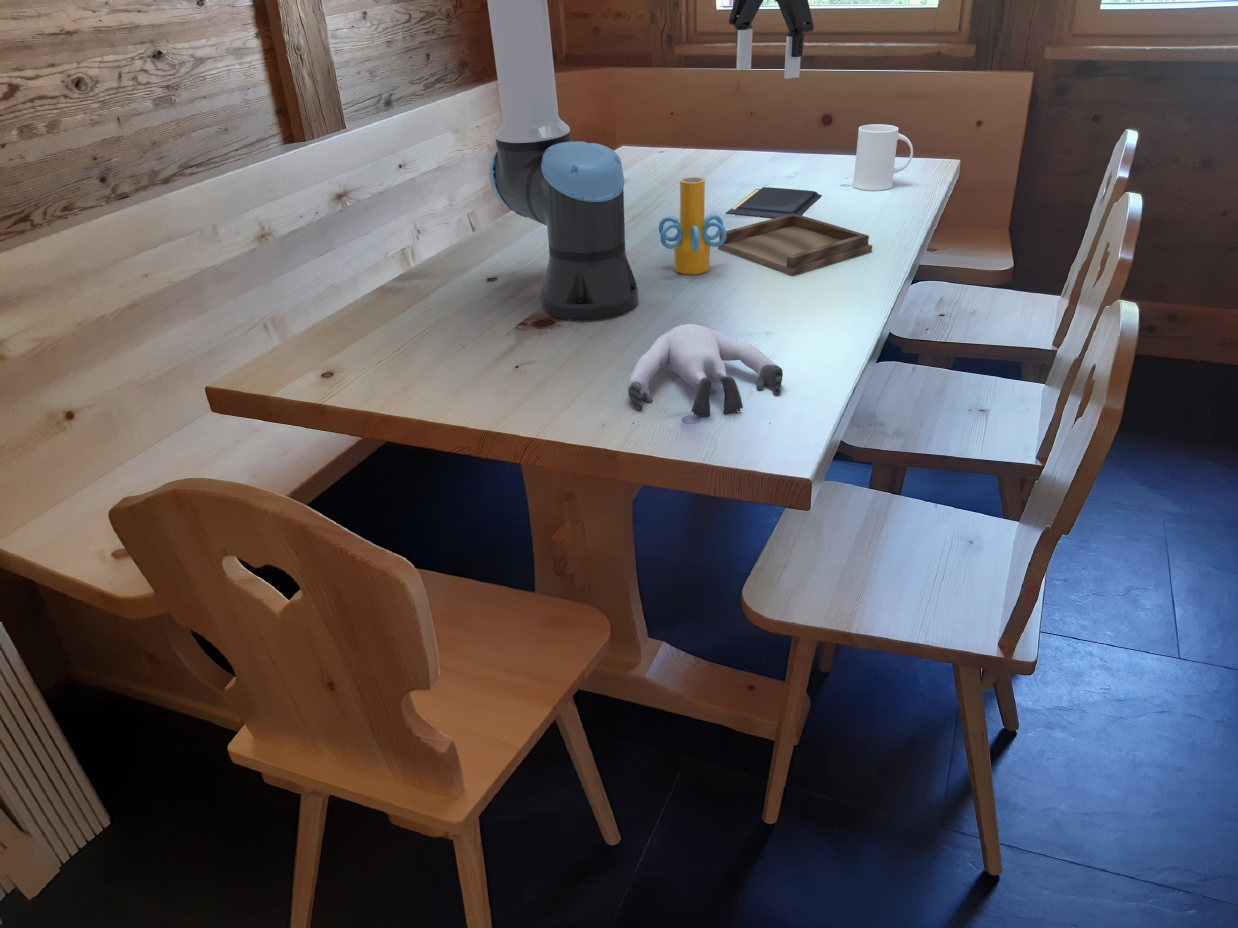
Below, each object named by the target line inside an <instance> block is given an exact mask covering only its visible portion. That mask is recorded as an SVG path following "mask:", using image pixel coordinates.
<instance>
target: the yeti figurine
mask: <svg viewBox="0 0 1238 928" xmlns="http://www.w3.org/2000/svg"><path fill="white" fill-rule="evenodd" d="M724 361H726V362H727V361H729V362H730V361H740V362H741V363H742V364H743V365H744V366H745V367H748V368H749V369H751V370H752V371H753V372H754V373H756V374H757V377H756V390H757V392H758V391H759V392H761V391H763V390H764V388H765V387H766V388H767V389H769V390H771V391H772V395H774V396H775V397H778V396H780V394H781V390H780V388H782V382H783V376H784V373H783V369H782V367H780V366H779V365H777V363H775V362H774V361H773V360H772V359H770V358H769V357H768V356H767V355H766V354H765V353H764V352H762V351H761V350H760V349H759V348H758V347H756V346H755V345H753V344H752V343H747V342H743V341H739V340H737V339H734V338H731V337H729V336H727V335H725V334H723V333H722V332H719V331H716V330H712V329H710V328H709V327H706V326H702V325H700V324H694V323H685V324H680V325H677V326H675V327H673V328H671V329H670V330H669V331H667V332H665V333H663V334H661V335H660V336H659V337H658V338H657V339H656V340H655V341H654V342H653V343H652V344H651V347H650V348H649V349H648V350H647V351H646V352H644V353H643V354H642V355H641V356H640V358H639V359H638V360H637V363H635V366H634V368H633V370H632V372H631V375H630V378H629V379H628V385H627V391H628V393H627V394H628V398H629V399H630V401H631V403H632V406H633V408H634V409H635V411H637V412H641V411H643V405H644V401H645V403H647V404H652V403H653V402H654V401H653V397H652V393H651V390H650V388H649V387H650V386H649V385H650V381H651V379H652V378H653V377H654V376H655V374H656V373H657V372H658V371H659V369H660V367H663V366H665V367H667V368H668V369H669V370H670V371H671V372H673V374H676V375H677V376H679V378H681V379H682V380H684V382H685V383H686V385H688V386H689V387H691V388H692V389H694V390H696V393H695V396H694V400H693V402H692V406H691V410H690V411H691V412H692V413H693V415H694V416H696V417H699V418H702V419H703V418H704V417H705V418H709V417H710V416H711V402H710V396H711V395H710V394H711V393H710V392H711V389H712V388H714V387H715V386H716V385H718V384H721V385H722V389H723V396H724V397H723V398H724V400H723V411H722V412H723V415H730V414H731V415H734V414H738V413H739V412H741V409H743V408H744V406H743V401H742V398H741V397H742V396H741V394H740V391H739V387H738V385H737V384H738V383H737V382H736V380H735V378H734V377H732V376H728V375H727V370H726V365H725V363H724ZM643 400H644V401H643Z"/></svg>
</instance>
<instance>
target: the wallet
mask: <svg viewBox="0 0 1238 928" xmlns="http://www.w3.org/2000/svg"><path fill="white" fill-rule="evenodd" d="M822 196H823V195H822V194H820V193H818V192H817V191H815V190H807V189H805V190H804V189H795V188H794V189H793V188H782V187H781V188H780V187H770V186H768V187H766V186H763V187H761V188H756V189H754V190H752V192H751V193H749V194H748V195H747V196H745V198H743V199H742V200H740V201H739V202H737V203H736V204H735V205H734V206H732V208H730V209H729V210H727V211H726V212H725V215H735V216H741V217H743V216H744V217H752V218H762V219H769V220H770V219H774V218H778V217H781V216H785V215H789V214H793V213H795V214H798V215H802V216H804V214H805V212H807V211H808V210H809V209H810V208H811V207H812V206H814V204H815V203H816V202H817V201H819V200H820V199H821V198H822Z"/></svg>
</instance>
